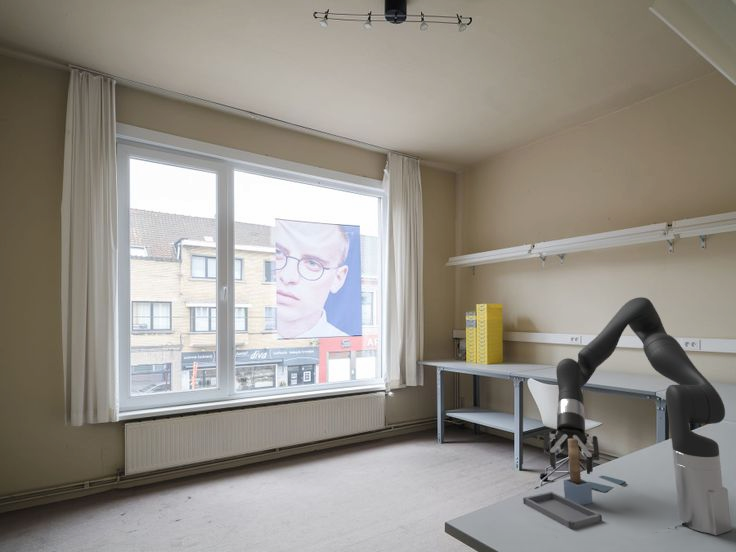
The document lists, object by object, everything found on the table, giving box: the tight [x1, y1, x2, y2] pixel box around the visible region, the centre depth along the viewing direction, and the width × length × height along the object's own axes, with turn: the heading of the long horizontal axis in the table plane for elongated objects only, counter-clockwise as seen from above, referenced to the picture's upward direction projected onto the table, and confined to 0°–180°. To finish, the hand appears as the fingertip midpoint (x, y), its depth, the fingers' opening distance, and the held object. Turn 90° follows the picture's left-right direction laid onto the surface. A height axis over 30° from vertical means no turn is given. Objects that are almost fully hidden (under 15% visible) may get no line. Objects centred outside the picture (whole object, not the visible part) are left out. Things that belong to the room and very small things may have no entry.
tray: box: [522, 491, 603, 530], centre depth 111 cm, size 16×10×2 cm, turn 22°
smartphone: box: [587, 475, 627, 494], centre depth 129 cm, size 8×2×15 cm
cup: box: [563, 478, 593, 506], centre depth 117 cm, size 5×5×6 cm
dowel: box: [567, 439, 582, 485], centre depth 118 cm, size 3×3×16 cm
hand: (570, 470), depth 117 cm, fingers open, 8 cm apart
